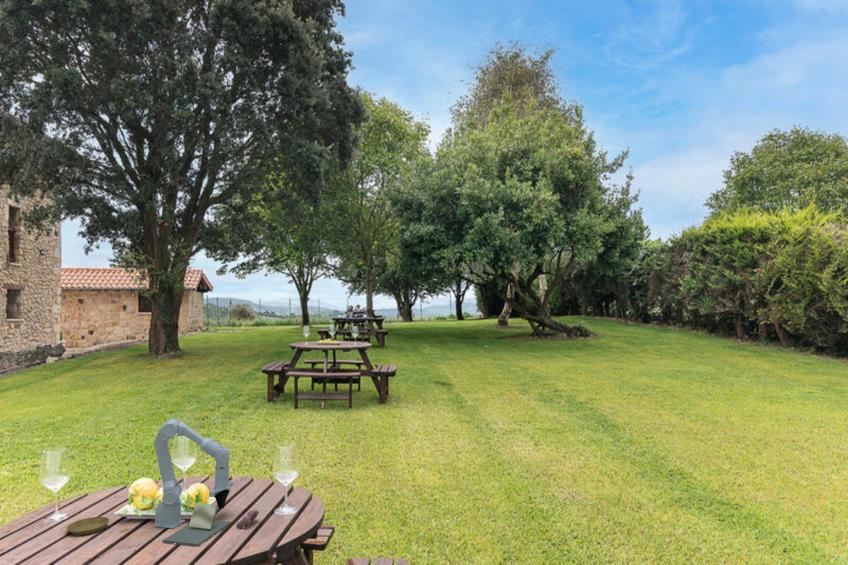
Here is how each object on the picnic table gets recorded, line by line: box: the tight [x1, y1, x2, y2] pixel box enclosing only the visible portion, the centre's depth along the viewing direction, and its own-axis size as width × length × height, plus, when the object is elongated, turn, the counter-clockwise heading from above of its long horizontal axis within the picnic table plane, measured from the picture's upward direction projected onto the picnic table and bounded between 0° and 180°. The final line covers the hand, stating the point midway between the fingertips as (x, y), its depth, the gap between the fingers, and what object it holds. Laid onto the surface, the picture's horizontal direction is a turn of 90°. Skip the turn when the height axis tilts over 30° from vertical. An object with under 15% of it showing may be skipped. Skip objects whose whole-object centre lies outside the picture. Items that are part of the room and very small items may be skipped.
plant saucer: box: [66, 516, 110, 536], centre depth 208 cm, size 15×15×3 cm
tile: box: [189, 502, 218, 529], centre depth 208 cm, size 9×10×1 cm
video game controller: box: [236, 509, 259, 529], centre depth 213 cm, size 10×5×7 cm, turn 169°
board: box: [161, 519, 232, 547], centre depth 205 cm, size 16×22×1 cm
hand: (221, 507), depth 220 cm, fingers closed
